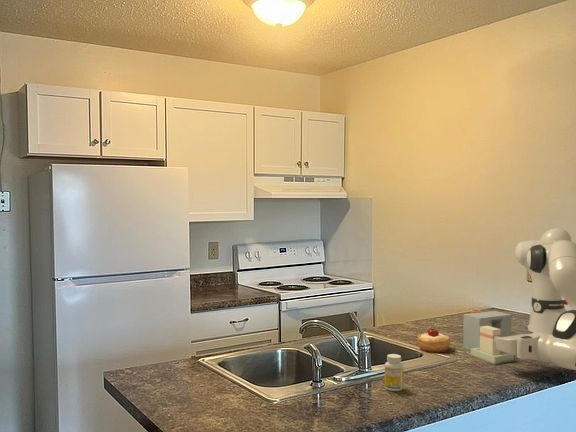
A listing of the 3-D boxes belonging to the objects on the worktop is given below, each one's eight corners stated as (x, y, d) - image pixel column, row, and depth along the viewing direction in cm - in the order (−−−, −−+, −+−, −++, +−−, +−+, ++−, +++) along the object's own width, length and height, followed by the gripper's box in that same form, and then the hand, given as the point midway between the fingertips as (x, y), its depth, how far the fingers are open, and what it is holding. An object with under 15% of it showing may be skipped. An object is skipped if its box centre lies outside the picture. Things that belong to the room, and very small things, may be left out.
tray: (489, 353, 196) (489, 346, 196) (513, 361, 186) (513, 353, 186) (470, 355, 192) (470, 348, 192) (494, 364, 182) (494, 356, 182)
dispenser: (494, 343, 210) (495, 310, 210) (511, 348, 203) (511, 314, 202) (463, 347, 203) (463, 314, 203) (479, 353, 196) (479, 318, 196)
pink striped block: (487, 353, 193) (487, 325, 193) (500, 357, 188) (500, 329, 188) (479, 354, 192) (479, 326, 192) (492, 358, 186) (492, 330, 186)
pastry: (417, 345, 208) (416, 322, 208) (449, 347, 205) (448, 323, 206) (418, 353, 196) (417, 328, 196) (451, 354, 194) (451, 329, 194)
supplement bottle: (395, 392, 154) (396, 359, 154) (380, 388, 158) (380, 355, 158) (406, 388, 158) (407, 356, 157) (391, 384, 162) (391, 352, 161)
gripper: (563, 333, 174) (528, 325, 187) (517, 339, 166) (483, 330, 178) (563, 353, 174) (528, 343, 187) (517, 359, 166) (483, 349, 178)
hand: (506, 337), depth 182 cm, fingers open, 8 cm apart
